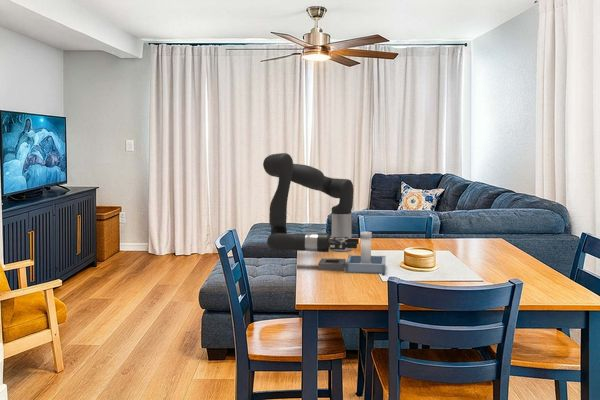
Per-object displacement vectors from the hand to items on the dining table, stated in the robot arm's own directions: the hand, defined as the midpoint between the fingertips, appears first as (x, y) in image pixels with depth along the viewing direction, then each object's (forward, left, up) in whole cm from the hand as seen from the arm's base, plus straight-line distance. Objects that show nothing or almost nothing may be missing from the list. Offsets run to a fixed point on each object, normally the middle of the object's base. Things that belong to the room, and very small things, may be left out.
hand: (357, 243), depth 227 cm
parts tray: (0, +3, -10) cm, 11 cm away
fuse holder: (0, -10, -10) cm, 15 cm away
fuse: (0, +3, -9) cm, 10 cm away
